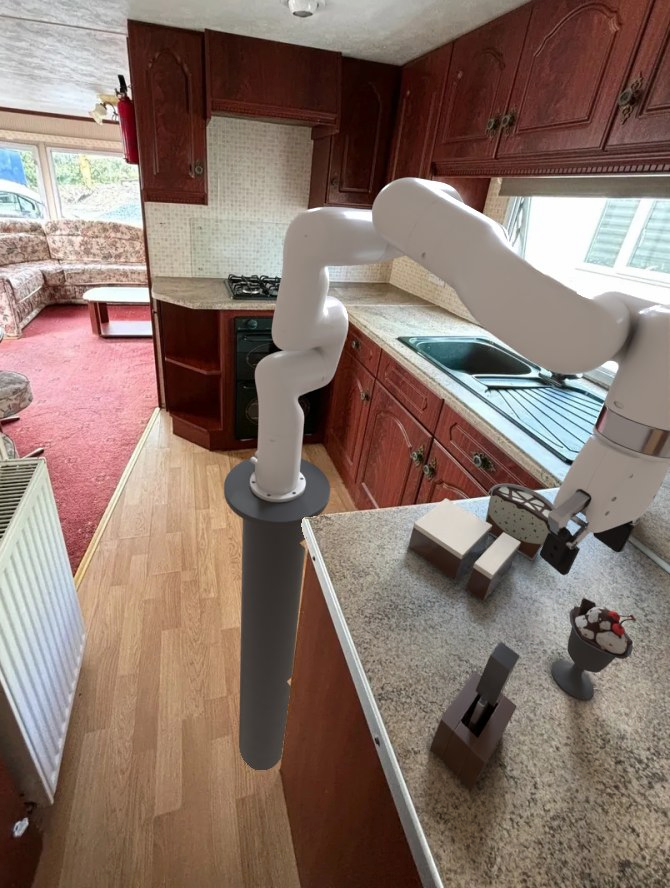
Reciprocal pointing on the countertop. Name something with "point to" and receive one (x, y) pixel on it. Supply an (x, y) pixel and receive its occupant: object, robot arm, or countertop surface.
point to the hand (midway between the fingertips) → (580, 553)
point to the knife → (493, 681)
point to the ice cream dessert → (519, 516)
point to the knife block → (470, 733)
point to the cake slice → (492, 566)
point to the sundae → (591, 647)
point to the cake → (449, 538)
